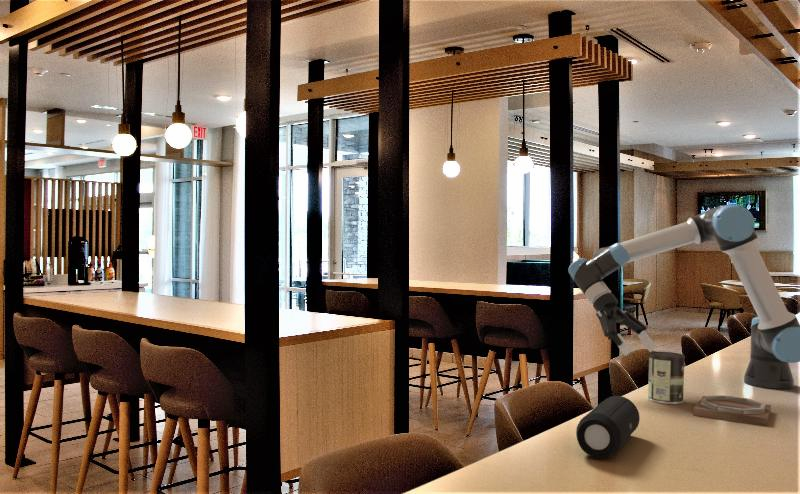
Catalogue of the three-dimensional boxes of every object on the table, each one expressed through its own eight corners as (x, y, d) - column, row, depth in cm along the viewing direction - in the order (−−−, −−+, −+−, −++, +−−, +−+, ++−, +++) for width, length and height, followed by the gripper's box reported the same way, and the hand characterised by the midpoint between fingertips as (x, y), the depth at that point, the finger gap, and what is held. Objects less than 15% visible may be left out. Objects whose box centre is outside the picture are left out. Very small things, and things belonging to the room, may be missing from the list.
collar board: (702, 402, 207) (703, 392, 207) (770, 411, 198) (770, 400, 198) (693, 415, 192) (693, 403, 192) (766, 425, 183) (766, 413, 183)
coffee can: (679, 397, 213) (681, 352, 213) (686, 405, 203) (688, 358, 203) (644, 395, 215) (646, 350, 215) (650, 403, 205) (651, 356, 205)
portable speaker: (617, 465, 148) (619, 419, 148) (572, 457, 153) (573, 412, 153) (640, 436, 170) (642, 396, 170) (600, 430, 175) (601, 391, 175)
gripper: (616, 304, 237) (655, 354, 225) (571, 307, 221) (609, 362, 210) (631, 290, 232) (670, 340, 221) (585, 292, 217) (625, 347, 205)
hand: (641, 351), depth 215 cm, fingers open, 13 cm apart
